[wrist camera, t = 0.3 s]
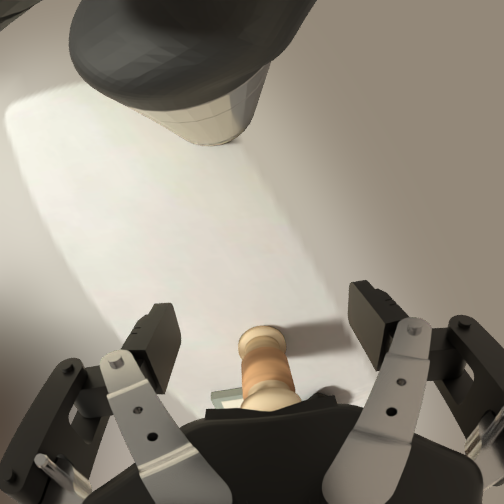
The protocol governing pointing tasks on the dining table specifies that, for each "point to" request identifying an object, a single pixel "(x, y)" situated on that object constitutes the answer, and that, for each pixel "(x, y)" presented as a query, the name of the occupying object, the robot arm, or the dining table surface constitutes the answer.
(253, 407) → the bobbin
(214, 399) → the plate
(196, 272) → the dining table surface
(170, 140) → the dining table surface
